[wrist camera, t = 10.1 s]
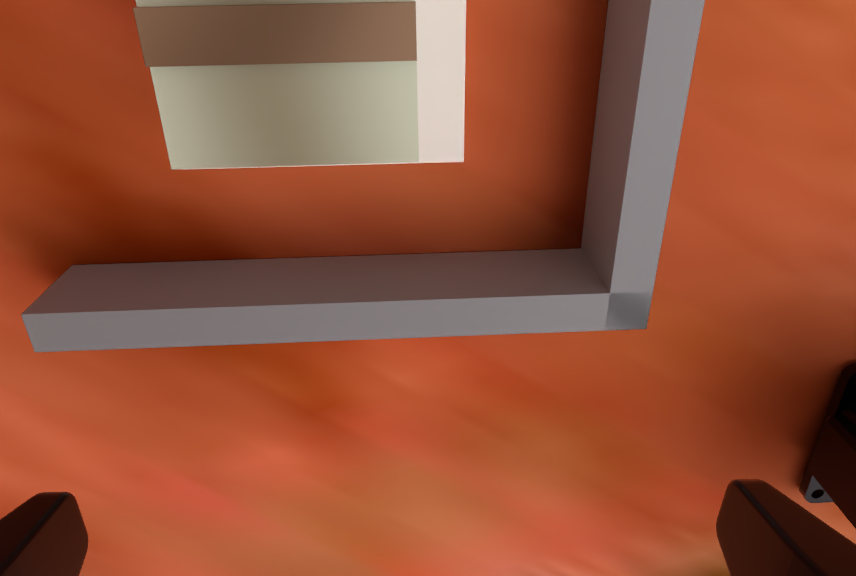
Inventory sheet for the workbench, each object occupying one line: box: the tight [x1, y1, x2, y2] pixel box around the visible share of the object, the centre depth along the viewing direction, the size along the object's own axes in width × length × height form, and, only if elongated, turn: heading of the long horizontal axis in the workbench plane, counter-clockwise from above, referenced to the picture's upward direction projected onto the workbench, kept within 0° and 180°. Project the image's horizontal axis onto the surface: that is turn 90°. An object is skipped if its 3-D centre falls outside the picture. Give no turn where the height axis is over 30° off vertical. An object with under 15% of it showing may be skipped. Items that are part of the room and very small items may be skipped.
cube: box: [133, 0, 419, 169], centre depth 14 cm, size 5×5×5 cm
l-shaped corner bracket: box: [21, 0, 705, 352], centre depth 16 cm, size 17×13×3 cm
